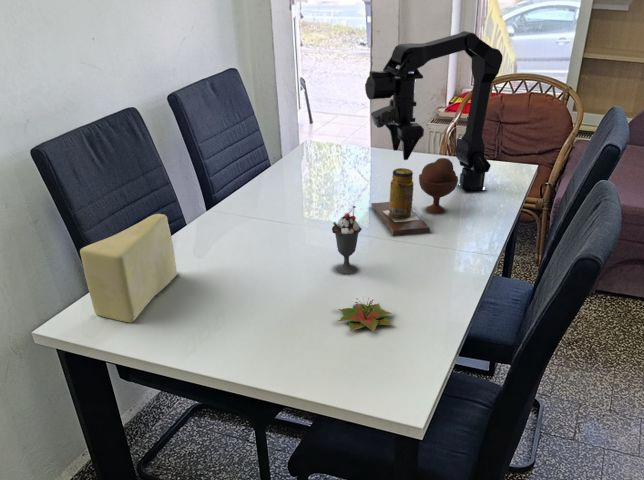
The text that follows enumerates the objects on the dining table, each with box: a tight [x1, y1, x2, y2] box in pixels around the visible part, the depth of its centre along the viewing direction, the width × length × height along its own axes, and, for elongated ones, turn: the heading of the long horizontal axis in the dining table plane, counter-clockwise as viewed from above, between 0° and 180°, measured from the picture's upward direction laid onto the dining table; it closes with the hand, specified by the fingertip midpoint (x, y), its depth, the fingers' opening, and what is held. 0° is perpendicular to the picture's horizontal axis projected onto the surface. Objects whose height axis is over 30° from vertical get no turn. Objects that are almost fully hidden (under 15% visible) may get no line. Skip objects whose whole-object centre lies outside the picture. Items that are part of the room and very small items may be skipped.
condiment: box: [383, 167, 419, 222], centre depth 172 cm, size 7×8×12 cm
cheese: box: [79, 213, 178, 323], centre depth 134 cm, size 22×10×15 cm, turn 159°
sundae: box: [331, 205, 363, 275], centre depth 147 cm, size 7×7×15 cm
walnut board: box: [371, 201, 431, 237], centre depth 176 cm, size 10×20×2 cm, turn 15°
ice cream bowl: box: [418, 157, 459, 215], centre depth 179 cm, size 11×11×15 cm
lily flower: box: [337, 295, 394, 333], centre depth 130 cm, size 12×12×5 cm
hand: (400, 155), depth 182 cm, fingers open, 9 cm apart
